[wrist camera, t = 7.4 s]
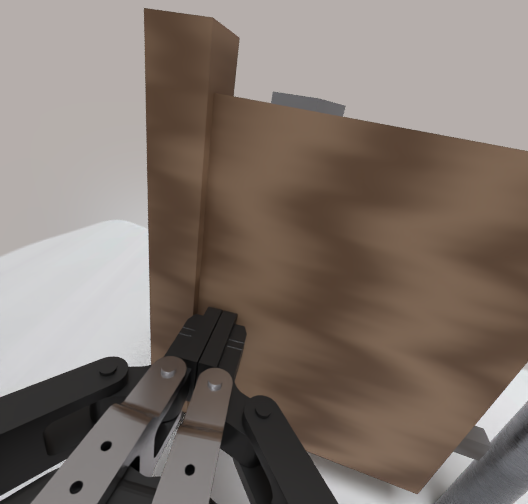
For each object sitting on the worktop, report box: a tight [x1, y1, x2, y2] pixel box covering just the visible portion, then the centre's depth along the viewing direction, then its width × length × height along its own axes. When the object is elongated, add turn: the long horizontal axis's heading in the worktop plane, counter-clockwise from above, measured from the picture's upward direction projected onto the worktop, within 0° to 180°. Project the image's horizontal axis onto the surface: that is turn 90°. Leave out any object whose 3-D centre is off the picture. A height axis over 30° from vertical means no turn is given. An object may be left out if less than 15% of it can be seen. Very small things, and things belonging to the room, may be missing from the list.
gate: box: [144, 8, 528, 494], centre depth 14 cm, size 18×3×22 cm, turn 74°
